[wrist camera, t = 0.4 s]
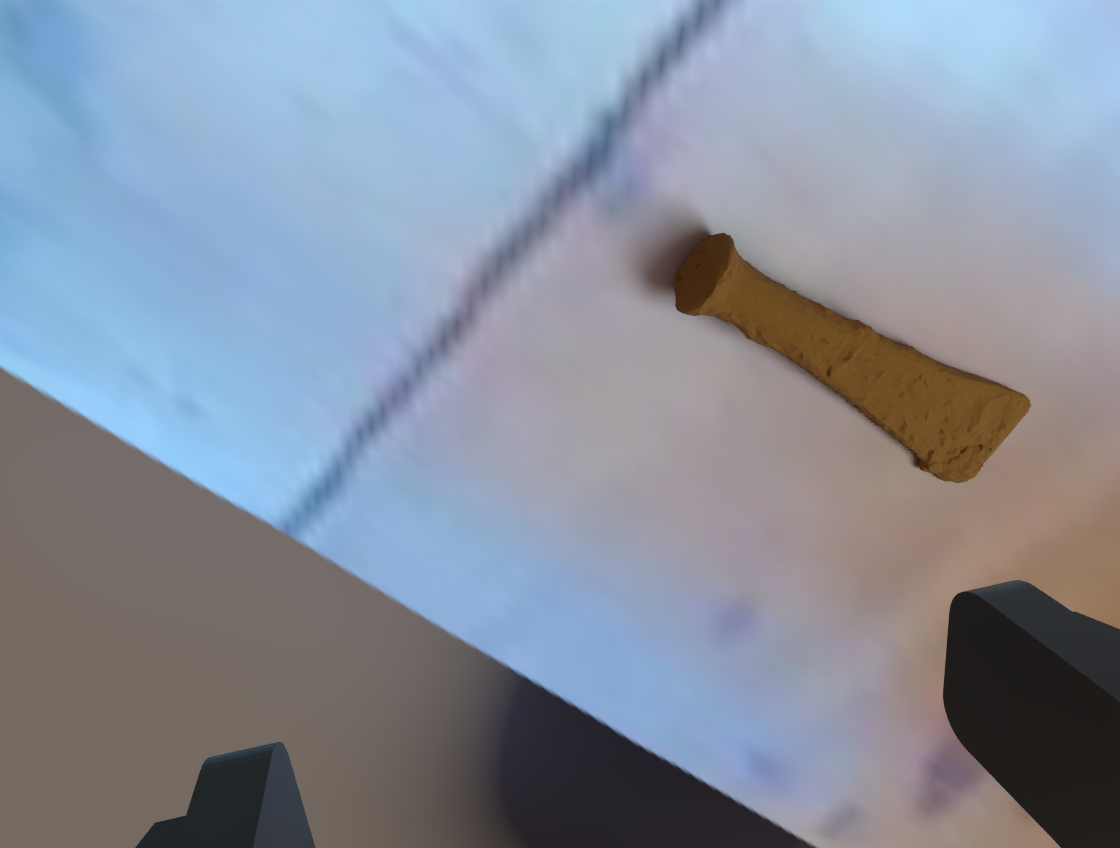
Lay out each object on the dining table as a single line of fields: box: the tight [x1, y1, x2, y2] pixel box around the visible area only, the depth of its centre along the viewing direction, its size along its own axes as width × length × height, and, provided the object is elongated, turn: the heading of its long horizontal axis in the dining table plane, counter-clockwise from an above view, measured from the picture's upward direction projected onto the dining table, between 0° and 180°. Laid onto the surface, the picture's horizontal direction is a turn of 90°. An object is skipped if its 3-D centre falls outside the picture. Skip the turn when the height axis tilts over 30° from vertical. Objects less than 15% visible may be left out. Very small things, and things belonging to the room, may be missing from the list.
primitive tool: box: [674, 233, 1031, 483], centre depth 35 cm, size 19×6×4 cm, turn 62°
